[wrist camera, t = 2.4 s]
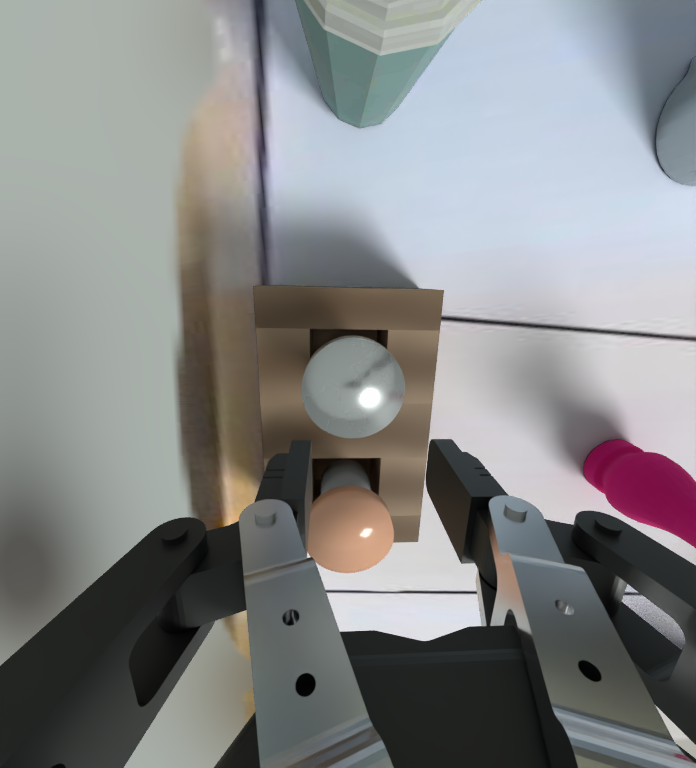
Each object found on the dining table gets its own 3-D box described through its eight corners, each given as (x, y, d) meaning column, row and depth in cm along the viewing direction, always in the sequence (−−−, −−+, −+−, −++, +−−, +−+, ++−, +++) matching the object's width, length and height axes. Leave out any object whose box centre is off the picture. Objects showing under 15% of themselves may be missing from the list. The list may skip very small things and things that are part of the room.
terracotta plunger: (309, 449, 29) (303, 500, 22) (381, 449, 30) (396, 498, 23) (310, 510, 31) (305, 574, 24) (377, 509, 31) (391, 571, 25)
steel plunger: (307, 324, 26) (300, 338, 19) (388, 325, 26) (408, 340, 20) (308, 400, 28) (302, 438, 21) (384, 400, 28) (401, 438, 21)
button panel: (269, 285, 30) (253, 286, 24) (419, 288, 31) (443, 290, 25) (279, 498, 37) (268, 545, 31) (402, 496, 38) (417, 541, 31)
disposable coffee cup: (293, 149, 27) (254, 3, 13) (296, -21, 24) (250, -456, 10) (418, 162, 28) (510, 37, 14) (437, -1, 25) (581, -378, 11)
